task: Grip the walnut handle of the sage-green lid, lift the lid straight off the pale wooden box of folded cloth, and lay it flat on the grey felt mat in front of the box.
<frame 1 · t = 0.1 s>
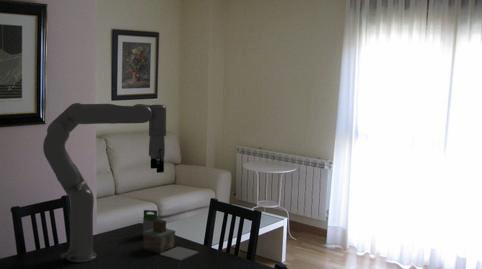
hand: (157, 170, 248), 37 cm above the table, tool pointing down, fingers open, 9 cm apart
ink box: (150, 236, 274), on the table
keepsake box: (159, 248, 255), on the table
felt mat: (179, 253, 249), on the table
lid: (159, 233, 254), point 7 cm above the table, touching keepsake box
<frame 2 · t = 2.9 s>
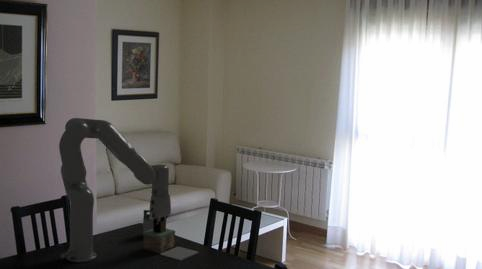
hand: (159, 230, 254), 8 cm above the table, tool pointing down, fingers closed on lid, 3 cm apart
lid: (159, 233, 254), point 7 cm above the table, touching gripper, keepsake box
everything else where it was.
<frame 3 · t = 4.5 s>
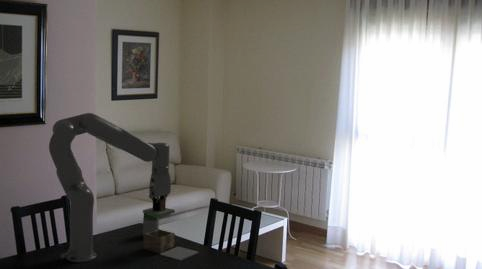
hand: (158, 209, 253), 18 cm above the table, tool pointing down, fingers closed on lid, 3 cm apart
lid: (158, 212, 253), point 17 cm above the table, touching gripper
everything else where it was.
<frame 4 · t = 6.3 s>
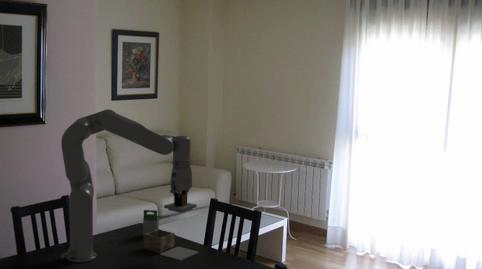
hand: (180, 204, 246), 23 cm above the table, tool pointing down, fingers closed on lid, 3 cm apart
lid: (180, 207, 246), point 21 cm above the table, touching gripper
everything else where it was.
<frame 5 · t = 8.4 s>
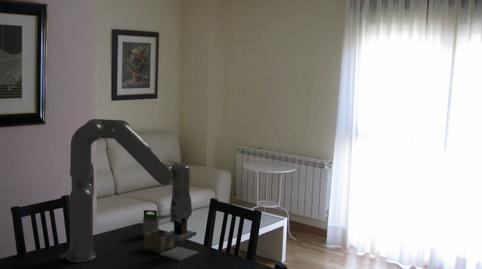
hand: (180, 232, 247), 10 cm above the table, tool pointing down, fingers closed on lid, 3 cm apart
lid: (180, 235, 248), point 9 cm above the table, touching gripper
everything else where it was.
when the fingers open (5 cm above the table, at t = 9.8 s): lid drops 2 cm, resting on felt mat.
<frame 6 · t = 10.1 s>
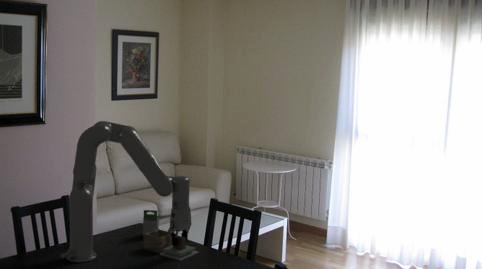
hand: (179, 243, 248), 5 cm above the table, tool pointing down, fingers open, 6 cm apart
lid: (179, 250, 248), point 1 cm above the table, touching felt mat
everything else where it was.
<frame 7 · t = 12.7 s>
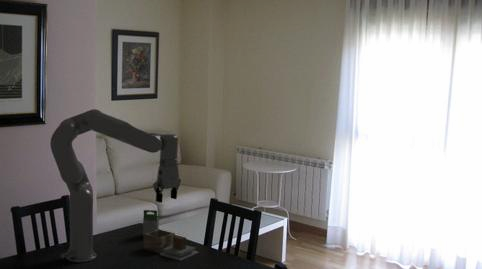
hand: (166, 200, 246), 24 cm above the table, tool pointing down, fingers open, 9 cm apart
nothing on the table moved.
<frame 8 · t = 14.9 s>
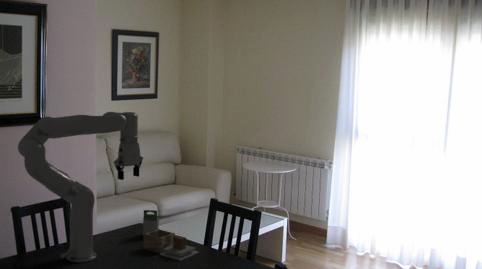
hand: (128, 177, 248), 33 cm above the table, tool pointing down, fingers open, 9 cm apart
nothing on the table moved.
at the end: lid 0.1 cm off-centre on the felt mat, point 1.5 cm above the felt mat's base; lid tilted 0°; the gripper is holding nothing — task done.
